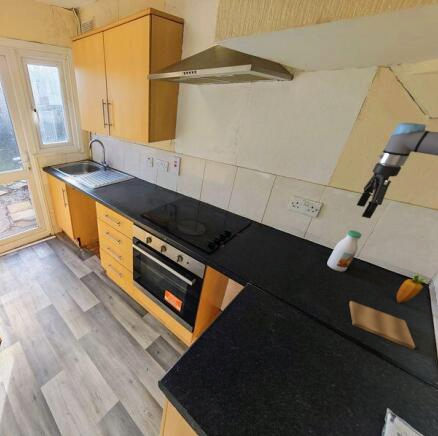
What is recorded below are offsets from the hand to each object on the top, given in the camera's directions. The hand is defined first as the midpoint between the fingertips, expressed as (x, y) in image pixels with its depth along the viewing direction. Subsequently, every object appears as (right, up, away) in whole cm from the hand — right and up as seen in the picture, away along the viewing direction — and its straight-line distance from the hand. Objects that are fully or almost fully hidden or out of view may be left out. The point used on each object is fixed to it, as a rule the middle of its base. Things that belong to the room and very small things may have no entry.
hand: (362, 211), depth 101 cm
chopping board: (-11, -42, -18) cm, 47 cm away
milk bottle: (-3, -27, +11) cm, 29 cm away
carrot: (+7, -38, -8) cm, 39 cm away
